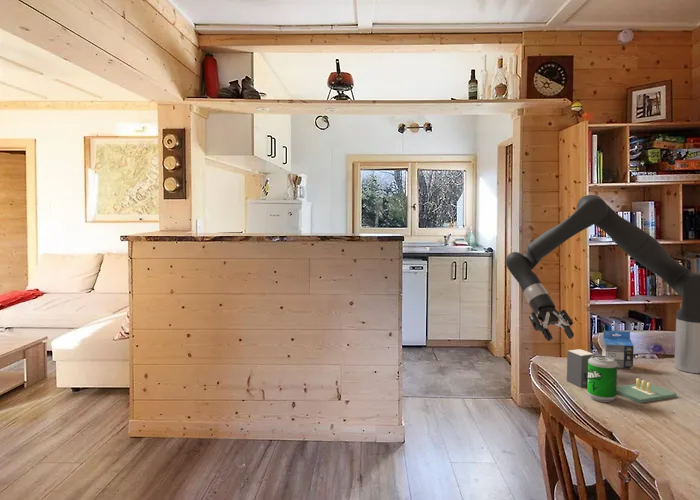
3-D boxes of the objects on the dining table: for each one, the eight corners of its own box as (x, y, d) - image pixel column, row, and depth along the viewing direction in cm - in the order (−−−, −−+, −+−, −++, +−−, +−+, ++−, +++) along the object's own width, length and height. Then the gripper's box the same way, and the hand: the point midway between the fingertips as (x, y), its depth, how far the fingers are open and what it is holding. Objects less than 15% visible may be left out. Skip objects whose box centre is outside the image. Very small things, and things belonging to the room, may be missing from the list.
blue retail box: (605, 367, 165) (606, 333, 164) (601, 364, 169) (602, 330, 168) (633, 369, 163) (634, 334, 162) (629, 365, 167) (630, 331, 166)
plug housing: (579, 379, 154) (580, 348, 153) (593, 385, 148) (594, 354, 148) (566, 381, 153) (567, 350, 152) (580, 387, 147) (581, 355, 146)
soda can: (613, 394, 141) (614, 355, 140) (618, 404, 134) (619, 363, 133) (585, 392, 143) (586, 353, 142) (589, 401, 136) (590, 360, 135)
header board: (646, 385, 148) (646, 372, 148) (676, 396, 139) (677, 383, 138) (610, 390, 144) (611, 377, 144) (639, 403, 135) (640, 389, 134)
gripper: (526, 294, 163) (549, 334, 153) (560, 291, 167) (584, 331, 157) (516, 306, 169) (537, 346, 159) (550, 303, 173) (572, 342, 163)
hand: (561, 338), depth 158 cm, fingers open, 8 cm apart
